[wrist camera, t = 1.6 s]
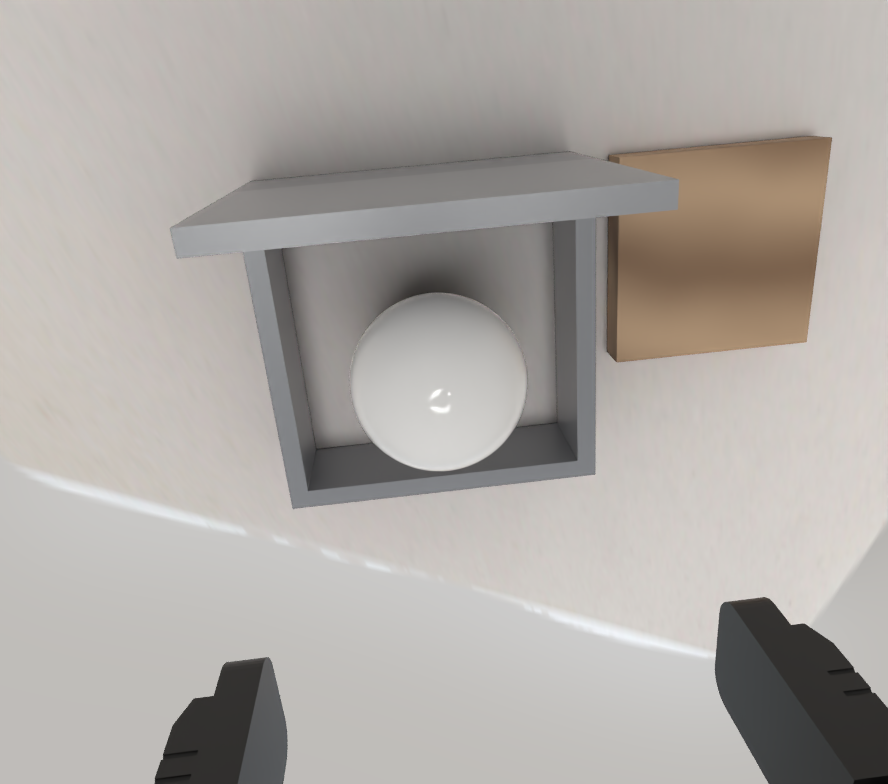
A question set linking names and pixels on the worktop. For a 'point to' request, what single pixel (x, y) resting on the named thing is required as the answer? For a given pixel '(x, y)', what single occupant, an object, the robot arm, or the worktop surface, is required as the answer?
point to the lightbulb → (438, 381)
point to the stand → (719, 250)
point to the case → (416, 213)
